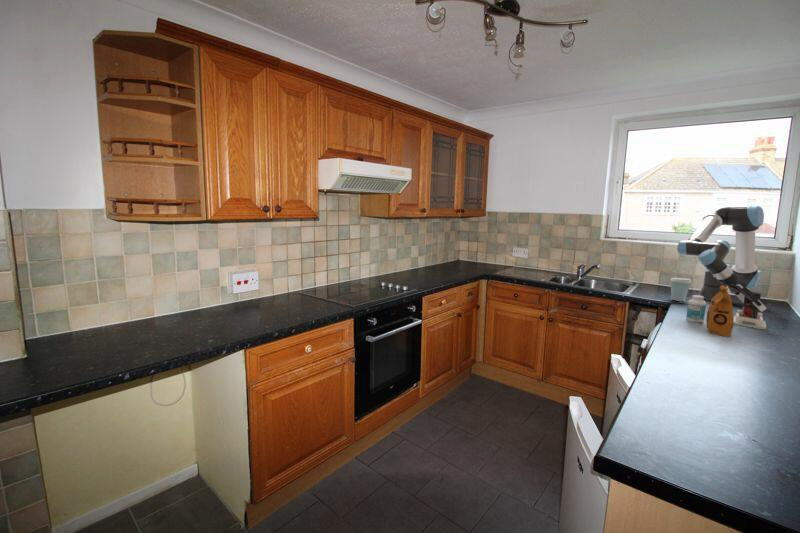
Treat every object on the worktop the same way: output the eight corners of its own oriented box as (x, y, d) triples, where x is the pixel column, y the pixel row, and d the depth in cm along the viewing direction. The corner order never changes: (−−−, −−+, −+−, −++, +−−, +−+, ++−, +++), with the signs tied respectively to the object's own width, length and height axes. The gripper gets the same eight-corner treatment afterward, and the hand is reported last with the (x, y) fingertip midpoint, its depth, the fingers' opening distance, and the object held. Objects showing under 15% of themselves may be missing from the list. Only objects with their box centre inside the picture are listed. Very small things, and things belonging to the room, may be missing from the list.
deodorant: (759, 322, 195) (764, 294, 193) (747, 322, 196) (752, 293, 193) (749, 319, 201) (753, 291, 199) (737, 319, 201) (742, 291, 199)
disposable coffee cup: (663, 299, 246) (666, 276, 244) (676, 298, 249) (679, 276, 247) (680, 303, 236) (683, 280, 234) (692, 302, 239) (696, 279, 237)
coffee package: (703, 333, 181) (711, 287, 177) (704, 327, 190) (711, 283, 187) (731, 338, 175) (739, 291, 171) (731, 331, 184) (738, 287, 181)
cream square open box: (731, 318, 207) (733, 309, 206) (764, 323, 198) (766, 313, 198) (731, 323, 197) (732, 314, 196) (766, 329, 188) (767, 319, 187)
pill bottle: (697, 319, 203) (701, 294, 201) (707, 323, 196) (711, 298, 194) (682, 318, 204) (686, 294, 202) (691, 322, 197) (695, 297, 195)
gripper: (707, 276, 211) (735, 305, 210) (731, 285, 188) (763, 317, 186) (720, 267, 209) (748, 296, 207) (746, 275, 185) (778, 308, 184)
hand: (755, 306), depth 197 cm, fingers open, 13 cm apart
